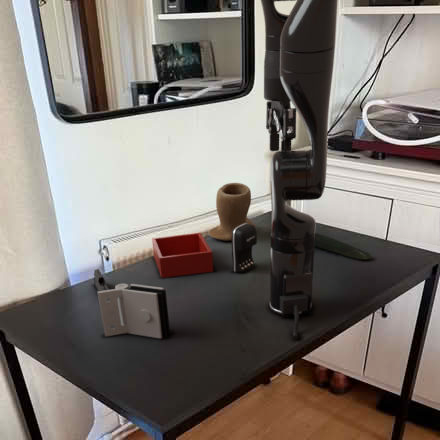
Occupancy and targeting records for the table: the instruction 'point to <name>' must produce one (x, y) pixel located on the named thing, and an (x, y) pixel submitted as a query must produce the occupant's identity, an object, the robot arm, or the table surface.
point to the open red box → (182, 255)
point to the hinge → (135, 310)
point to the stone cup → (231, 209)
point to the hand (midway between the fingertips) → (279, 154)
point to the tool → (339, 247)
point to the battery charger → (243, 247)
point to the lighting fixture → (100, 282)
